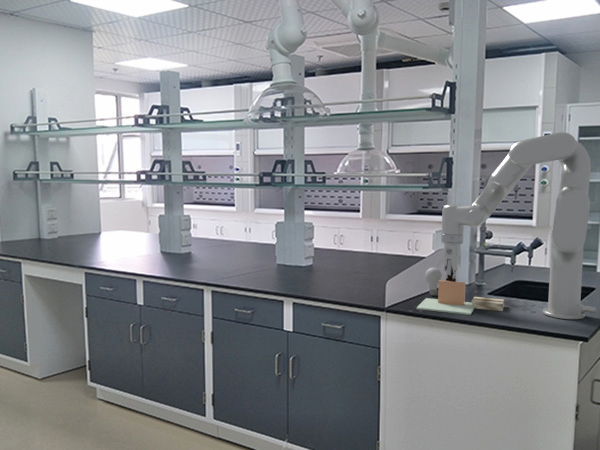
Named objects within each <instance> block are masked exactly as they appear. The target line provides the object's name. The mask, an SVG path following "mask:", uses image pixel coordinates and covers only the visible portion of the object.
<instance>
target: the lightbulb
mask: <svg viewBox="0 0 600 450" xmlns="http://www.w3.org/2000/svg"><path fill="white" fill-rule="evenodd" d="M442 275H443V274H442V271H441V270H440V269H439V268H437V267H428V269H427V270H426V271H425V275H424V276H425V279H426V281H427V283H428V290H429V294H430V295H431V296H432V297H433V296H434V297H435V295H437V292H438V291H437V289H438V286H439V280H442Z"/></svg>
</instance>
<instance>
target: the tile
mask: <svg viewBox="0 0 600 450" xmlns="http://www.w3.org/2000/svg"><path fill="white" fill-rule="evenodd" d="M437 289H438V291H437V292H438V293H437V299H438V303H444V304H454V305H463V306H464V305H465V302H466V300H465V299H466V281H457V280H456V281H446V280H442V279H441V280H439V283H438V286H437Z"/></svg>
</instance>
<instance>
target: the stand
mask: <svg viewBox="0 0 600 450" xmlns="http://www.w3.org/2000/svg"><path fill="white" fill-rule="evenodd" d="M470 303H471V306H474V307H475V308H474V309H478V310H486V311H487V310H488V311H496V312H497V311H498V312H503V311H504V307H505V299H504V298H503V299H502V298H492V297H491V298H490V297H481V296H473V297H472V299H471V302H470Z"/></svg>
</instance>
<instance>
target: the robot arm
mask: <svg viewBox="0 0 600 450" xmlns="http://www.w3.org/2000/svg"><path fill="white" fill-rule="evenodd" d="M553 161H554V162H555V161H559V163H560V166H561V171H560V173H561V174H560V180H559V181H560V183H559V189H558V193H557V198H556V200H555V211H554V217H553V226H552V230H551V234H550V235H551V243H550V245H551V246H550V266H549V279H548V280H549V281H548V283H549V284H548V299H547V300H548V301H547V302H548V303H547V307H544V308H543V309H542V313H543V314H544V315H546V316H548V317H551V318H557V319H564V320H583V319H584V318H585V317H586V313H589V314H590V313H591V314H597V307H595V306H594V307H593V306H590V305H583V304H582V301H581V295H582V282H583V281H582V277H583V261H584V245H585V242H586V237H587V231H588V224H589V216H590V209H591V200H590V197H589V196H590V195H589V191H590V190H589V189H590V180H591V169H592V167H591V165H592V162H591V158H590V155H589V153H588V151H587V149H586V148H585V147H584V146H583V144H582V143H580V142H579V141H578V140H577V139H576V138H575V137H574V136H573V135H572V134H571V133H570V132H569V133H568V132H564V131H558V132H554V133H549V134H546V135H545V134H544V135H541V136H536V137H532V138H527V139H521V140H518V141H516V142H515V143H513V144H511V146H510V148H509V152H508V153H507V155H506V156H505V157H504V158H503V160H502V161H501V163H499V165H498V166H497V167H496V168H495V169H494V171H493V172H492V173H491V175H490V176H489V177H488V180H487V183H486V185H485V187H484V189H483V190H482V192H481V193H480V194H479V195H478V197H477V198H476V199H475V200H474V202H473V203H472V204H471V205H461V204H444V205H443V206H442V210H441V211H442V213H441V214H442V215H441V217H442V218H441V244H443V260H442V261H443V262H442V263H443V266H442V267H443V271H445V275H446V276H445V281H456V282H457V280H456V275H457V272H458V271H460V270H461V269H462V246H461V245H463V244H464V228H465V227H464V226H468V227H472V228H473V227H474V228H475V227H479V226H481V225H483V224H484V223H486V221H488V219H489V218H490V216H491V215H492V214H493V213H494V212H495V211H496V209H497V208H498V207H499V206H500V204H501V203H502V201H503V200H504V199H505V198H506V197H507V196H508V195H509V194H511V191H512V190H513V189H514V188H515V187H516V186H517V184H518V183H519V181H521V180H522V178H523V177H524V176H525V174H526V173H527V172H528V171H529V169H530V168H531V167H532V166H534V165H538V164H543V163H544V164H545V163H548V162H549V163H550V162H553Z"/></svg>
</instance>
